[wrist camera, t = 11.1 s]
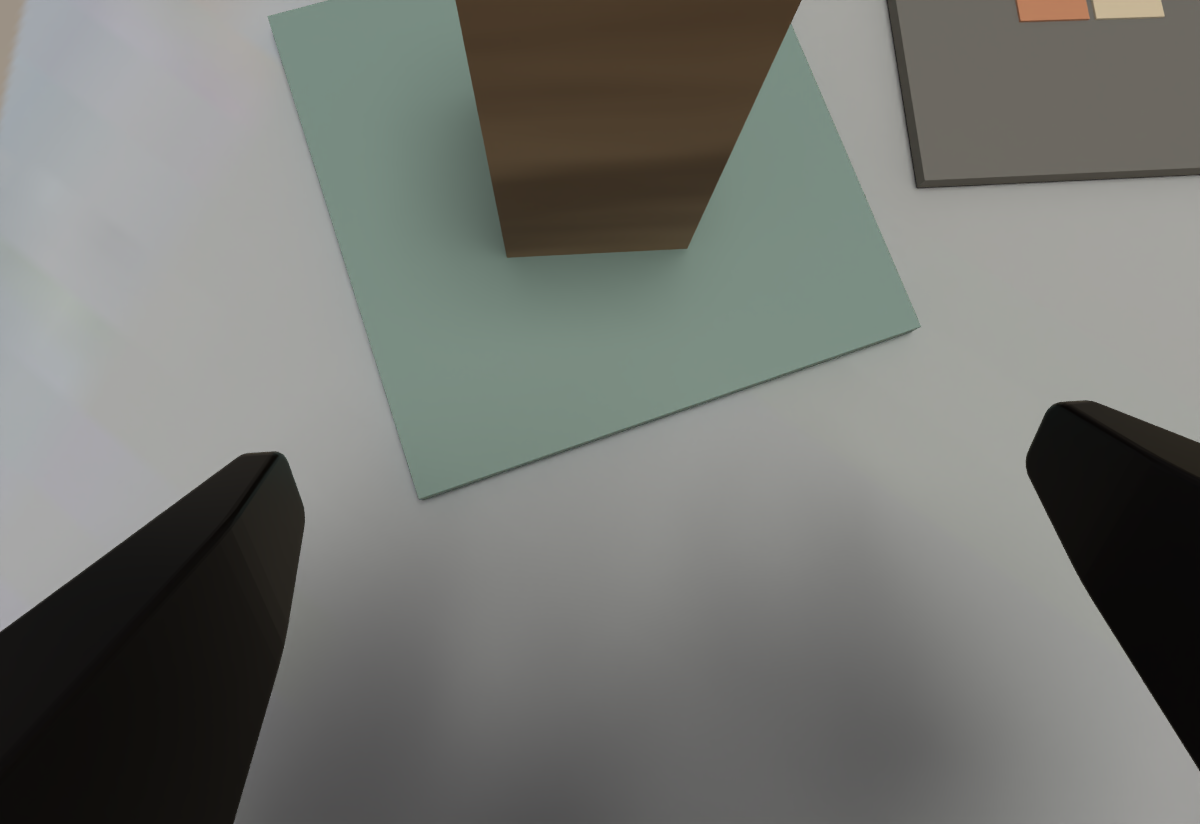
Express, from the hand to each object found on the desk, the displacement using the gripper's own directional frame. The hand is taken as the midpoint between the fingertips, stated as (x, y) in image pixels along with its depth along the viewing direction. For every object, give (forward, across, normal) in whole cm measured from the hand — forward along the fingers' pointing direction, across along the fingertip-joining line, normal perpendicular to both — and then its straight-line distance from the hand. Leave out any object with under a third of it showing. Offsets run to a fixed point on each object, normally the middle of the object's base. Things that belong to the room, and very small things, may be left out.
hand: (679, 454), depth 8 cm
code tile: (+15, -14, -3) cm, 21 cm away
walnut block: (+12, 0, 0) cm, 12 cm away
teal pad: (+12, 0, 0) cm, 12 cm away
